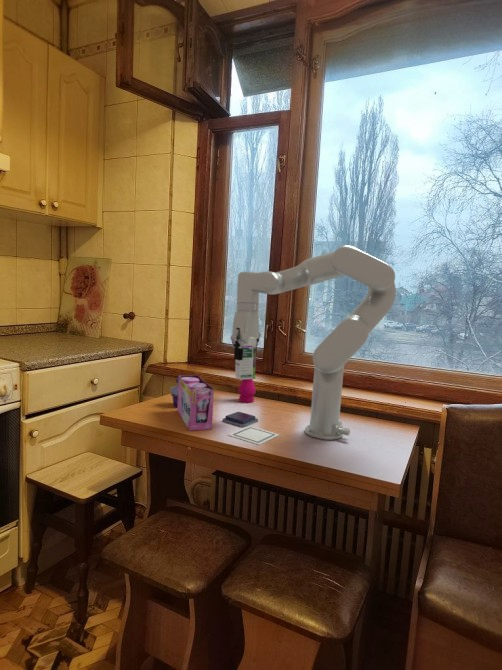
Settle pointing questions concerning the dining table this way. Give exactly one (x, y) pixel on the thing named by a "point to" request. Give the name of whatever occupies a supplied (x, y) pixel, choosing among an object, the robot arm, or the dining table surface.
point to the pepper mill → (247, 390)
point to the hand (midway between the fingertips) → (245, 358)
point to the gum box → (195, 402)
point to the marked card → (254, 435)
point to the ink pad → (240, 419)
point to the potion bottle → (175, 392)
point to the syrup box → (247, 360)
